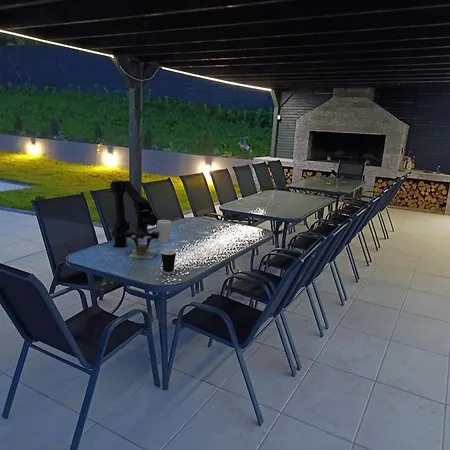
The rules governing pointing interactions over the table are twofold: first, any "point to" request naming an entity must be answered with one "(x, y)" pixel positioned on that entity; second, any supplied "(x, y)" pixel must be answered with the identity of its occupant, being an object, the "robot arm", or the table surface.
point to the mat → (148, 254)
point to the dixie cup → (168, 260)
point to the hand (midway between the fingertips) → (142, 249)
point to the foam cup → (163, 230)
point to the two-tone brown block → (141, 249)
